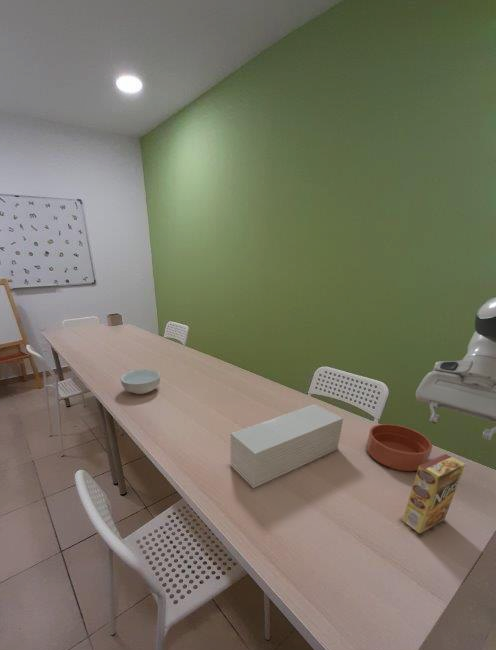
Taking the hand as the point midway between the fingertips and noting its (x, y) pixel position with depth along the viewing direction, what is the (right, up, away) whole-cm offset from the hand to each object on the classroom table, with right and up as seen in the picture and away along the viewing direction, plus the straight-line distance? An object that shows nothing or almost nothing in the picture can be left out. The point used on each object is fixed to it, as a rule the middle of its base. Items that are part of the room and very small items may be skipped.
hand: (458, 429), depth 67 cm
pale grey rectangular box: (-33, -11, +22) cm, 41 cm away
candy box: (-8, -20, 0) cm, 22 cm away
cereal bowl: (-85, +7, +68) cm, 109 cm away
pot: (-1, -11, +21) cm, 24 cm away
